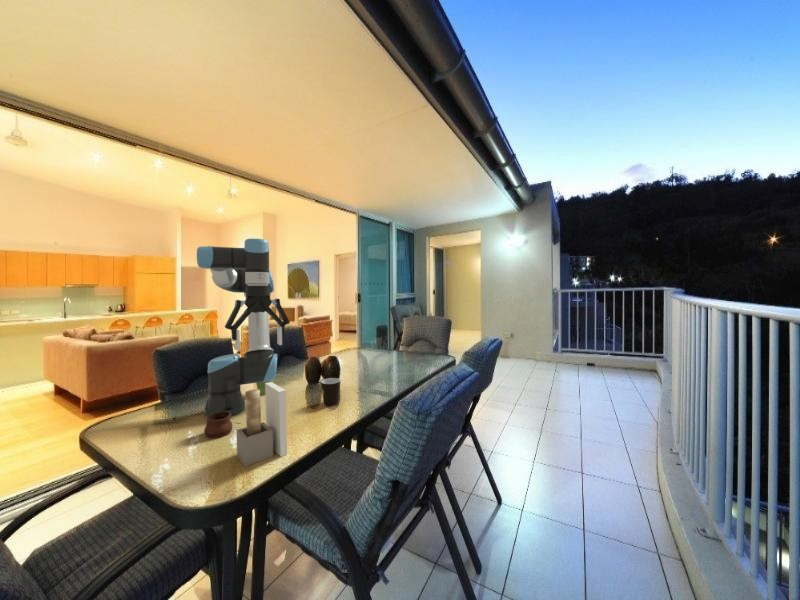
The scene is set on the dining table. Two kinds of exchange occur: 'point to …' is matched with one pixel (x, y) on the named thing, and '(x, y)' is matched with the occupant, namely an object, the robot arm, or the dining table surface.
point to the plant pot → (262, 387)
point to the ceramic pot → (218, 424)
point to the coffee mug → (330, 391)
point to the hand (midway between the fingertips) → (259, 347)
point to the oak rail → (253, 412)
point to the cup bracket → (266, 430)
